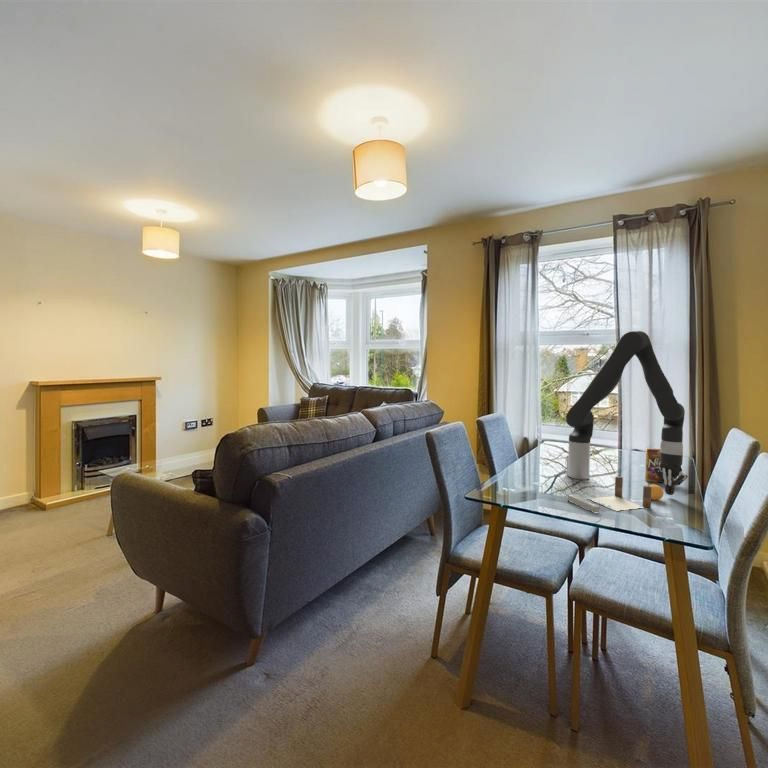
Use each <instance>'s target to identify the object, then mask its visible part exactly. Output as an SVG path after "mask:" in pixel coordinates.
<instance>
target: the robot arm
mask: <svg viewBox="0 0 768 768" xmlns="http://www.w3.org/2000/svg"><path fill="white" fill-rule="evenodd" d="M653 348H654V347H653V345H652V342H651V339H650V337H649V335H648V333H646V332H644V331H642V330H630V331H627V332H626V333H623V335H622V336H621V337H620V338H619V340H618V342H617V344H616V345H615V347H614V349H613V351H612V353H611V354H610V356H609V358H607V360H606V361H605V363H604V364H603V365H602V367H600V369H599V370H598V372H597V373H596V374H595V376H594V378H593V379H592V380H591V382H590V383H589V385H588V386H587V388H585V390H584V391H583V393H582V394H581V396H580V397H579V398H578V399H577V401H576V402H575V403H574V404H573V405H572V406H571V407H570V409H568V411H567V413H566V415H565V420H566V421H565V422H566V424H567V425H568V426H569V427H571V428H573V431H572V432H571V433H570V434H569V435H568V455H567V456H566V476H569V477H568V478H570V477H571V478H570V479H576V480H581V481H582V480H589V479H590V467H591V465H590V463H591V461H590V460H591V439H592V437H593V434H594V433H593V432H594V414H593V412H592V410H593V408H594V407H595V406H596V405H598V404H599V403H601V402H602V401H603V400H604V399H606V398H607V397H608V396H609V395H610V394H611V393H612V392H613V390H614V389H615V388H616V386H617V385H618V384H619V382H620V380H621V379H622V375H623V373H624V370H625V368H626V366H627V364H628V363H629V361H631V359H632V358H633V357H634V356H636V357H637V359H638V361H639V363H640V365H641V367H642V371H643V376H644V379H645V380H644V381H645V382H646V385H647V387H648V389H649V391H650V393H651V394H652V396H653V398H654V399H655V402H656V405H657V407H658V410H659V412H660V415H662V417H663V426H662V428H661V435H660V436H661V437H660V438H661V439H660V444H659V445H660V447H659V449H660V462H661V464H660V467H658V468H655V469H654V470H655V472H656V474H657V476H658V477H659V479H660V481H661V482H663V483H662V484H664V493H665V495H669V496H672V495H674V494H675V487H676V486H680V485H681V484H682V483H683V482H684V481H686V480H687V479H688V477H689V476H688V475H687V474H685V473H684V472H683V468H682V465H683V460H684V459H683V455H684V454H683V453H684V443H683V442H684V440H683V437H684V432H683V428H684V422H685V413H686V411H685V407H684V405H682V403H679V402H678V400H677V398H676V397H675V395H674V390H673V387H672V386H671V384H670V381H668V379H667V377H666V375H665V373H664V372H663V369H662V367H661V365H660V364H659V361H658V358H657V357H656V353H655V352H654V349H653Z"/></svg>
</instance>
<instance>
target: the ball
mask: <svg viewBox="0 0 768 768" xmlns="http://www.w3.org/2000/svg"><path fill="white" fill-rule="evenodd" d="M648 486H651V487H652V489H651V501H652V500H653V501H658V500H661V499H662V498H663V497H664V495H665V492H664V490H663V488H662V487H661V486H660V485H657V484H649V485H648Z"/></svg>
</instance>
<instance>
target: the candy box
mask: <svg viewBox="0 0 768 768" xmlns="http://www.w3.org/2000/svg"><path fill="white" fill-rule="evenodd" d="M645 451H646V453H645V471H644V474H645V475H644V480H645V482H650V483H651V482H652V483H658V482H661V481H660V479H659V477H658V476H657V474H656V472H655V470H654V469H655V468H658V467H660V464H661V462H660V448H656V447H655V448H654V447H646V450H645Z"/></svg>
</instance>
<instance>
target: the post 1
mask: <svg viewBox="0 0 768 768" xmlns="http://www.w3.org/2000/svg"><path fill="white" fill-rule="evenodd" d="M623 478H624V477H622V476H619V475H618V476H615V478H614V496H616V497H619V498H621V497H622V498H623V480H624V479H623Z"/></svg>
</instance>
